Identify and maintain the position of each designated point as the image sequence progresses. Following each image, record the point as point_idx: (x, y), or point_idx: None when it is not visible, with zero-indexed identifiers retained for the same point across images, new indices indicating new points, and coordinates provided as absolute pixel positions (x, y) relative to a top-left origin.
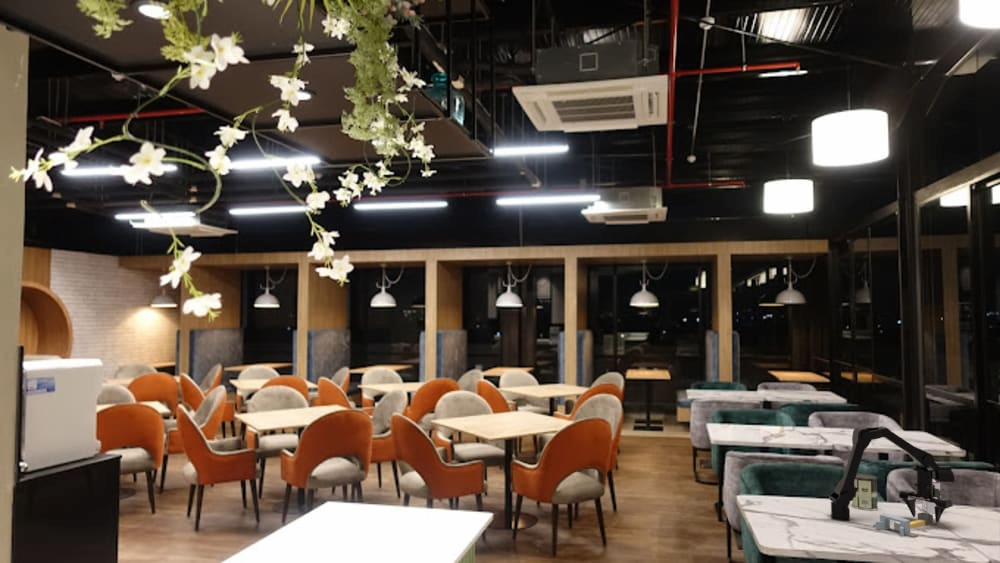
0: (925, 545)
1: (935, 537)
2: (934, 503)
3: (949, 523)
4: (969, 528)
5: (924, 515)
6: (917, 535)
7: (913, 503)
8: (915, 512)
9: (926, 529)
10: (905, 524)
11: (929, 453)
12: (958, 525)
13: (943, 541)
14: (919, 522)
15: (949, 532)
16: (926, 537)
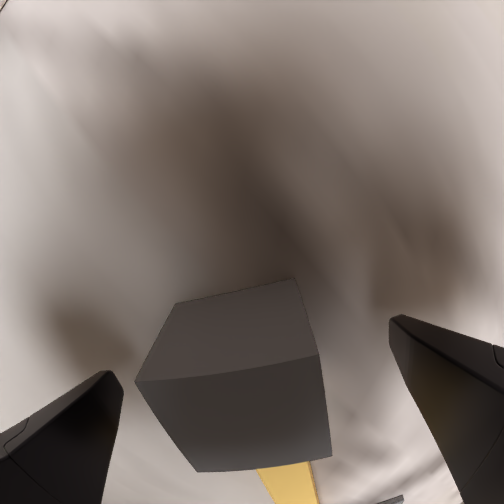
0: (449, 494)
1: None
2: None
3: (303, 18)
4: (473, 32)
5: (289, 462)
6: (402, 500)
7: (31, 493)
8: (86, 396)
9: (371, 435)
10: None
11: None
12: (388, 10)
13: None
14: (308, 467)
15: (489, 331)
16: (429, 478)
